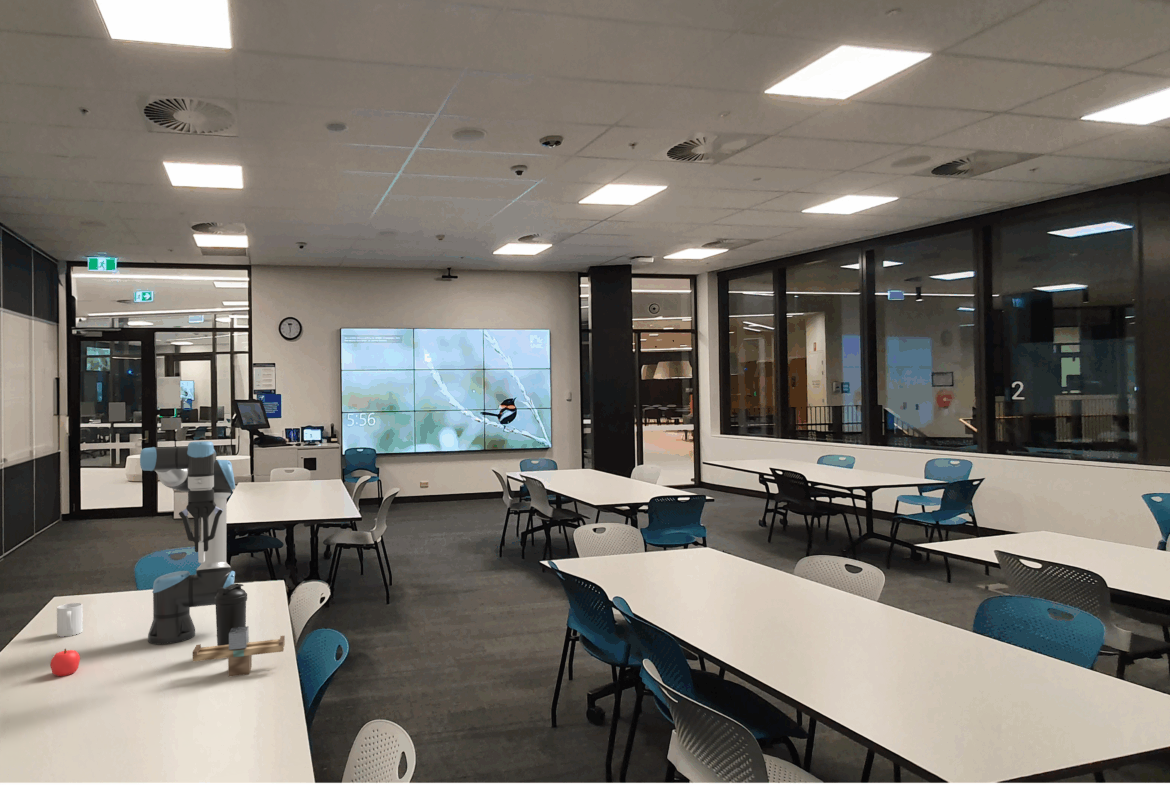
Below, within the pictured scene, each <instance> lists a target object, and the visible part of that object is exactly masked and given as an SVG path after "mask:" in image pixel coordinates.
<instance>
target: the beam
mask: <svg viewBox="0 0 1170 785" xmlns="http://www.w3.org/2000/svg"><path fill="white" fill-rule="evenodd" d="M285 638H286V637H285V635H280V638H278V639H277V638H276V639H267V640H259V641H250V642H248V645H247V648H242V649H233V650H229V645H220V646H217V645H212V646H203V647H202V645H201V644H196V645H195V647H194V649H192V662H193V663H194V662H201V661H202V662H203V661H208V660H209V661H211V660H220V659H228V663H227V665H228V666H227V667H228V668H227V669H228V670H227V671H228V677H229V678H230V677H238V676H247V675H250V673H251V671H252V667H253V666H252V665H253V664H252V663H253V662H252V661H253V659H252V656H255V655H263V654H264V655H265V654H272V653H282V652H284V649H285V648H284V647H285V644H286V643H285V642H286V640H285Z"/></svg>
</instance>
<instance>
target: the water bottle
mask: <svg viewBox="0 0 1170 785" xmlns="http://www.w3.org/2000/svg"><path fill="white" fill-rule="evenodd" d="M244 586H245V585H244V584H243V583H242V584H241V583H234V584H231V585H230V586H228V587H226V588H218V590H217V592H218V593H217V594H216V596H215V598H214V603H215V605H214V606H215V620H216V621H215V622H216V623H215V624H216V643H217V645H216V646H220V645H229V633H230V630H231V628H237V627H247V626H246V625H247V601H248V593H247V592H246V591H245V590H244V588H242V587H244Z"/></svg>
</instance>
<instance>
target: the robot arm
mask: <svg viewBox="0 0 1170 785" xmlns="http://www.w3.org/2000/svg"><path fill="white" fill-rule="evenodd" d="M139 465H140V468H141V470H142V471H144V472H145V471H150V472H153V471H154V472H156V474H157V476H158V480H159V481H160V482H161V484H162V485H163V486H165V487H167V488H169V489H172V490H176V491H180V492H187V505H186V508H185V509H183V510H180V512H179V513H178V515H179V517H180V519H182V524H183V527H184V530H185V533H186V534H185V535H186V536H187V537H186V538H187V540H188V542H194V552H195V553H198V557H197V558H198V559H197V560H198V564H200V565H199V566H198V567H197V568H196V570H195V574H191V573H190V571H188V570H179V571H178V570H177V571H174V572H170V573H166V574H162V575H160V576H159V577H156V579H155V580H154V581H153V586H152V595H153V596H152V597H153V598H152V600H153V603H152V604H153V605H152V607H153V610H152V612H153V613H152V614H153V617H152V618H153V619H152V622H151V625H150V628H149V630H148V633H147V642H148V643H149V644H154V645H165V644H166V645H168V644H175V643H179V642H183V641H187V640H190V639H192V638H194V637H195V636H196V627H195V625H194V624H195V623H194V621H193V619H192V617H191V614H190V610H191V609H190V608H196V607H197V608H198V607H206V606H216V605H215V603H214V598H215V596H216V594H217V593H218V592H217V590H218V588H226V587H228V586H230V585H231V584H235V576H236V571H234V570H231V569H232V567H231V565H230V564H228V562H227V507H228V506H227V500H228V498H229V497H230V496H231V495H232V491H233V490H235V489H236V483H235V475H234V469H233V464H232V462H231V461H230V460H228V459H217V452H216V450H215V447H214V442H213V441H208V440H206V441H205V440H204V441H203V440H201V441H200V440H198V441H190V442H189V443H188V444H187V445H186V446H167V447H165V446H164V447H160V446H159V447H155V446H152V447H145V448H142V449H141V450H140V455H139ZM189 514H190V515H191V516H192V518H193V522H194V523H193V528H194V530H193V531H194V532H193V531H192V526H191V523H190V519H189V516H188V515H189ZM200 521H201V522H200ZM193 533H194V534H193Z"/></svg>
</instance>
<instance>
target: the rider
mask: <svg viewBox="0 0 1170 785" xmlns="http://www.w3.org/2000/svg"><path fill="white" fill-rule="evenodd" d="M249 640H250V636H249V626H248V625H247V626H246V627H237V628H231V630H230V633H229V650H233V649H242V648H247V645H248V642H249Z"/></svg>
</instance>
